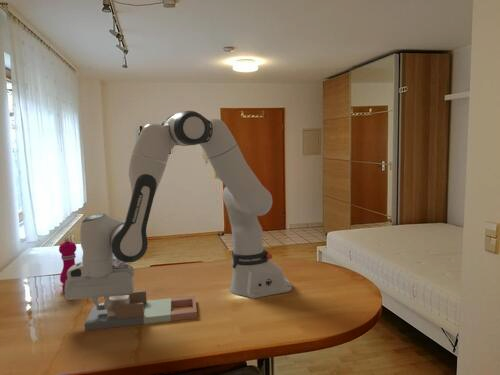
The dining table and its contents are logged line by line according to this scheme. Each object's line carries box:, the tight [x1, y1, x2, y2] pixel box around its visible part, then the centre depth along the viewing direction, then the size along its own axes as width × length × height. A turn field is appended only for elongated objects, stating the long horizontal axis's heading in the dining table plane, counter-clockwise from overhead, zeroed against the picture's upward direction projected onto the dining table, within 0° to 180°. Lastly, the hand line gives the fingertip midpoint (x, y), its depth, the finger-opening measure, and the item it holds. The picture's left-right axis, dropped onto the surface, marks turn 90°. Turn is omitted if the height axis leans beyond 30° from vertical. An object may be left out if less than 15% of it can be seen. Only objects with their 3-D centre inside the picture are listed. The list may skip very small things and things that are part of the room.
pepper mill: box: [58, 237, 77, 292], centre depth 151 cm, size 7×7×20 cm
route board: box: [84, 289, 198, 331], centre depth 127 cm, size 33×13×6 cm, turn 100°
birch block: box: [106, 295, 130, 317], centre depth 126 cm, size 6×6×4 cm
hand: (102, 309), depth 125 cm, fingers closed
